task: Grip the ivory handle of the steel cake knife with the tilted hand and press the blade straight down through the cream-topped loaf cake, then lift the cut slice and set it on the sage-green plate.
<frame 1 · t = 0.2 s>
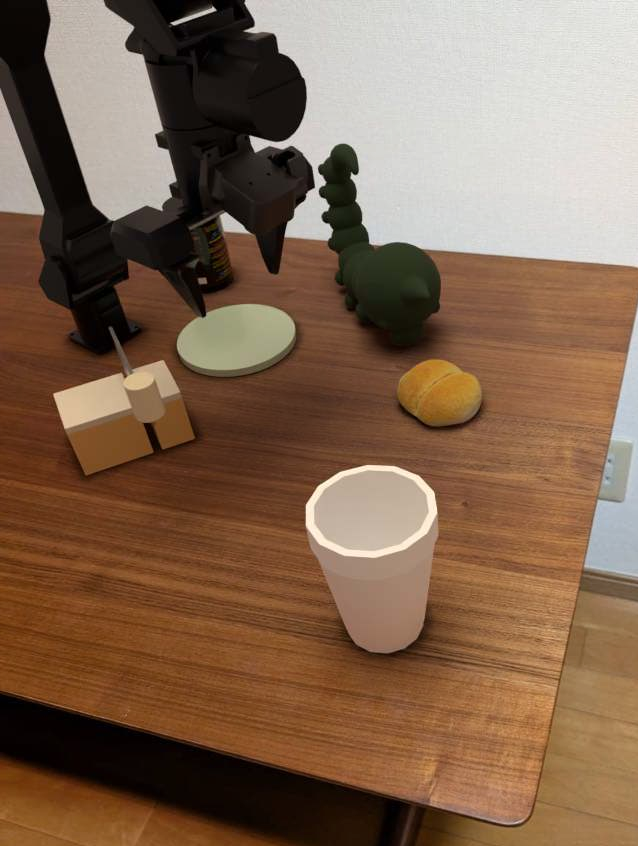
hand: (238, 294, 78), 15 cm above the table, tool pointing down, fingers open, 9 cm apart
bread roll: (439, 404, 88), on the table
foam cup: (385, 623, 68), on the table
cake slice: (170, 427, 88), on the table
cake: (113, 446, 86), on the table
knife: (133, 379, 77), point 10 cm above the table, slide at 0.0 cm
toy figurine: (384, 317, 101), on the table
supplement container: (209, 282, 109), on the table
plate: (237, 342, 99), on the table
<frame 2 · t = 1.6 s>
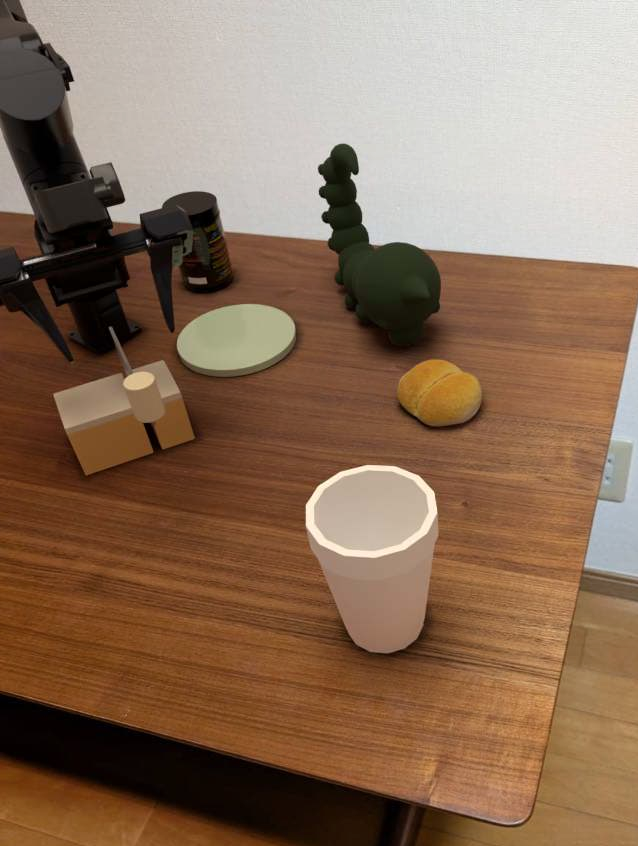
hand: (123, 346, 75), 13 cm above the table, tool tilted 45°, fingers open, 9 cm apart
nothing on the table moved.
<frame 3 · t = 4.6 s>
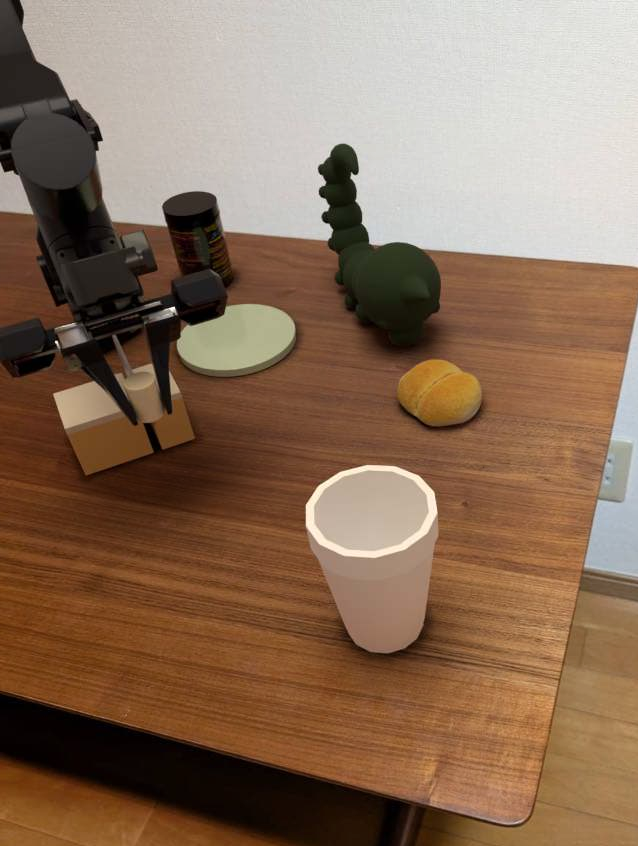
hand: (153, 419, 70), 11 cm above the table, tool tilted 45°, fingers closed on knife, 3 cm apart
knife: (133, 380, 77), point 10 cm above the table, slide at 0.0 cm, touching gripper
everything else where it was.
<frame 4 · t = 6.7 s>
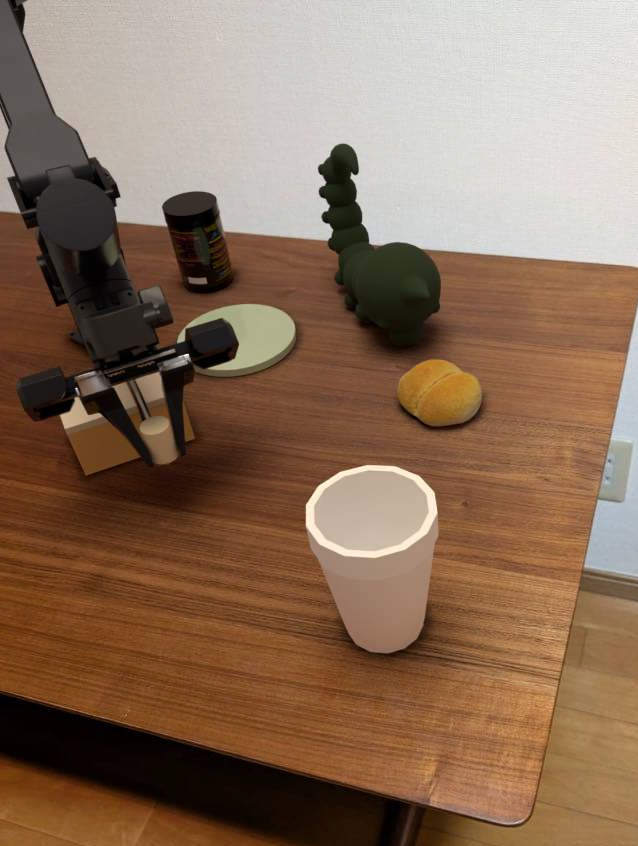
hand: (167, 461, 74), 7 cm above the table, tool tilted 45°, fingers closed on knife, 3 cm apart
knife: (148, 420, 80), point 5 cm above the table, slide at 4.7 cm, touching gripper
everything else where it was.
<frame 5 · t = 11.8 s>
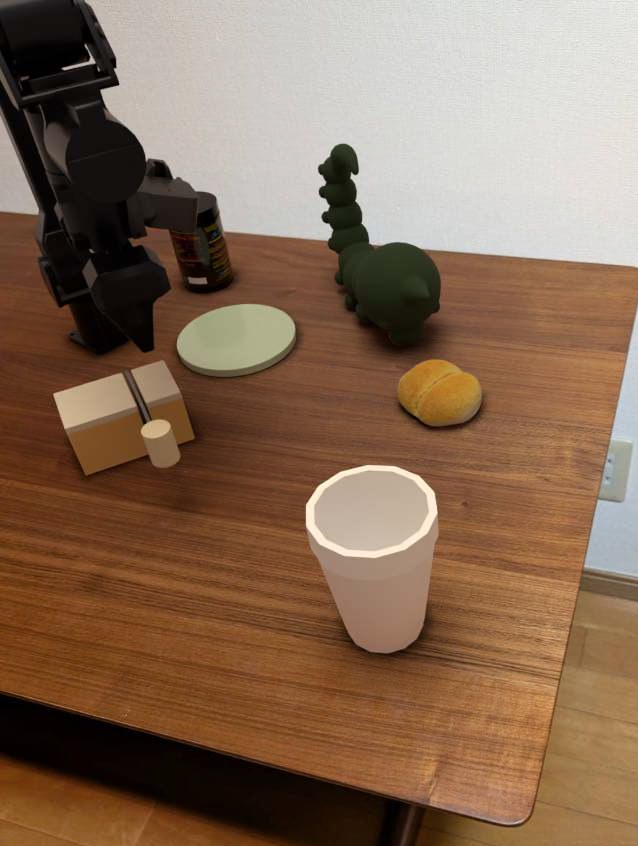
hand: (137, 328, 79), 12 cm above the table, tool pointing down, fingers open, 9 cm apart
knife: (149, 423, 81), point 5 cm above the table, slide at 5.1 cm
everything else where it was.
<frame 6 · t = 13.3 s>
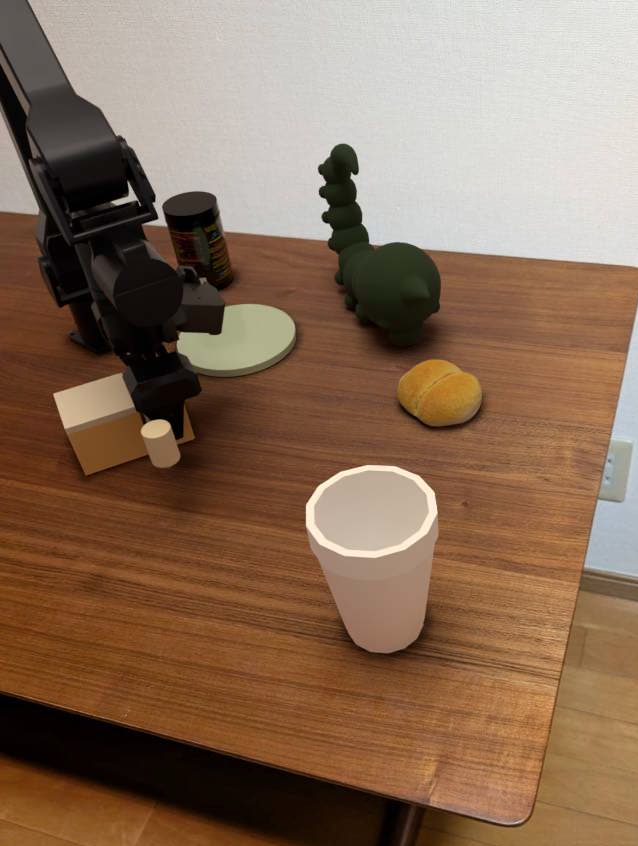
hand: (166, 414, 87), 2 cm above the table, tool pointing down, fingers open, 9 cm apart
knife: (149, 423, 81), point 5 cm above the table, slide at 5.1 cm, touching gripper
everything else where it was.
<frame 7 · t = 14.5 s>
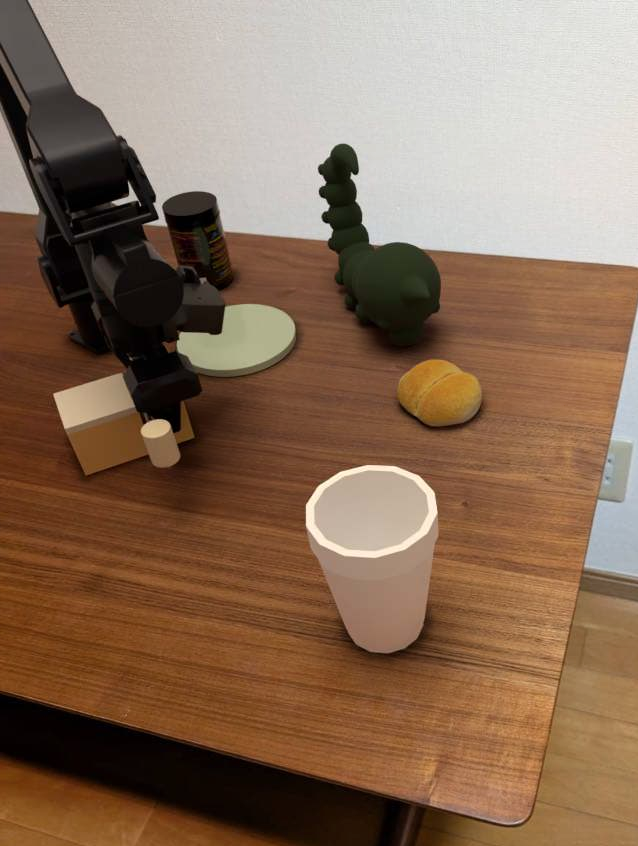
hand: (166, 414, 87), 2 cm above the table, tool pointing down, fingers closed on cake slice, 6 cm apart
cake slice: (170, 426, 88), on the table, touching gripper
knife: (149, 423, 81), point 5 cm above the table, slide at 5.1 cm
everything else where it was.
when the fingers open (3 cm above the table, at t = 19.6 s): cake slice stays where it is, resting on plate.
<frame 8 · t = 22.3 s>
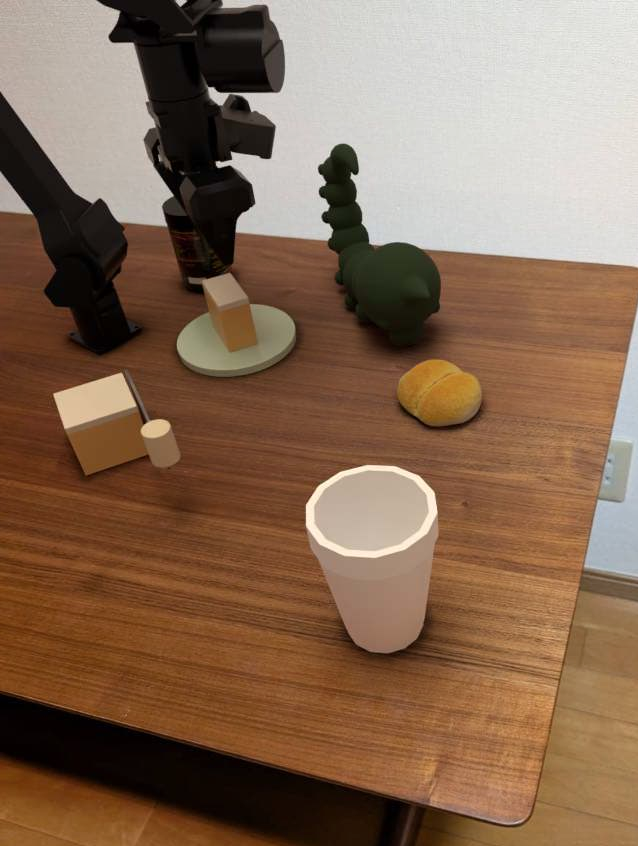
hand: (215, 247, 90), 12 cm above the table, tool pointing down, fingers open, 9 cm apart
cake slice: (235, 335, 98), point 1 cm above the table, touching plate
everything else where it was.
at the end: knife slide at 5.1 cm; cake slice inside the target area on the plate (0.1 cm from its centre), point 1.0 cm above the plate's base; cake slice tilted 0° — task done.
